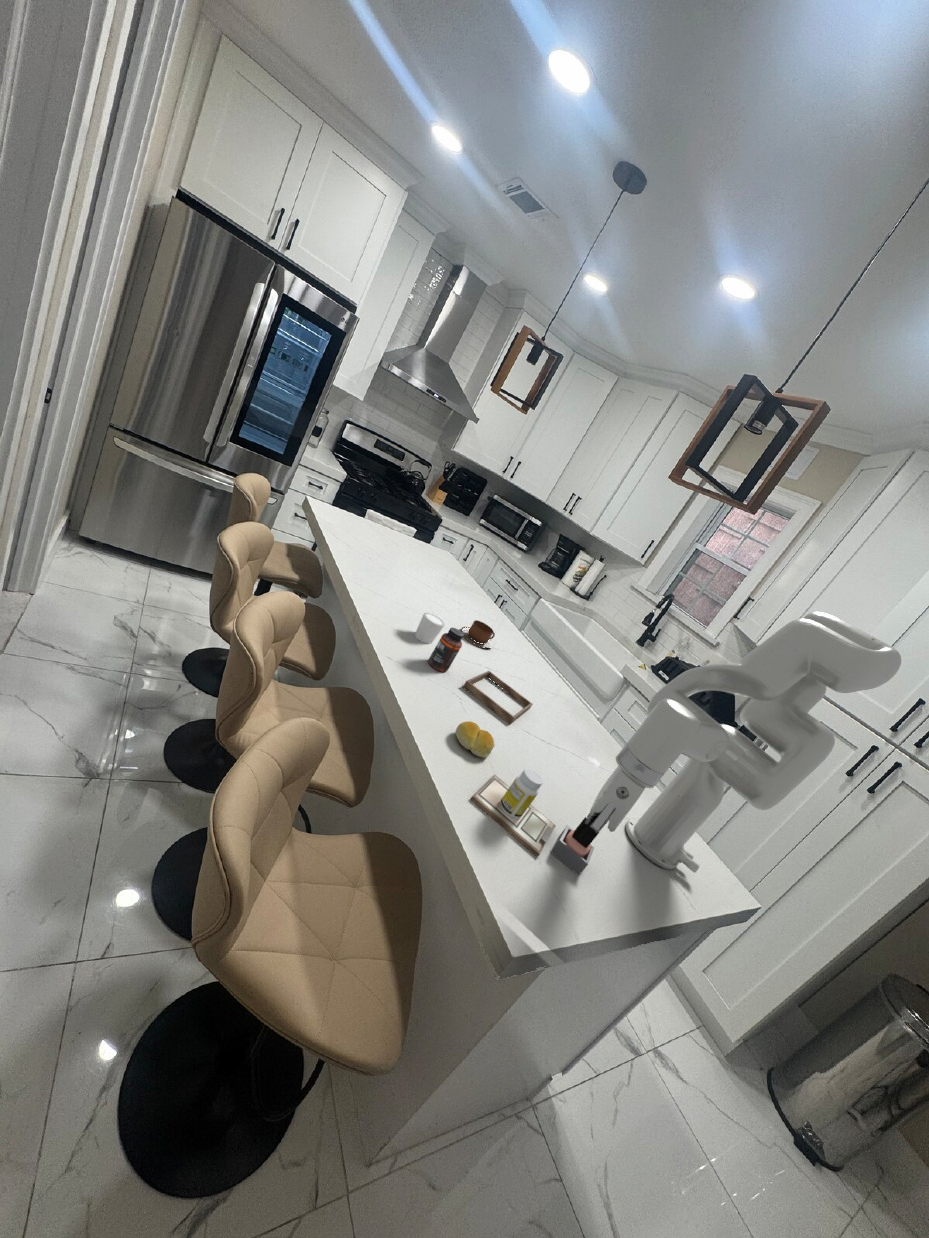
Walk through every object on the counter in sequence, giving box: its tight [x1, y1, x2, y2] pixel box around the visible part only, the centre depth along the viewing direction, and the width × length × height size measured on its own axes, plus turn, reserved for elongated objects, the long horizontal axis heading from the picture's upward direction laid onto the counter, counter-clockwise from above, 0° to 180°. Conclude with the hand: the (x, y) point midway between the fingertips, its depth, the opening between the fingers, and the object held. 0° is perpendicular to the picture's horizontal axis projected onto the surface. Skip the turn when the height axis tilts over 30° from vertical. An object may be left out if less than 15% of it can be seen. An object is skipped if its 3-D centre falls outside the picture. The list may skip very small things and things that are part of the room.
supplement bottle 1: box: [428, 627, 465, 673], centre depth 133 cm, size 6×6×11 cm
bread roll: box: [455, 720, 496, 759], centre depth 107 cm, size 8×9×4 cm
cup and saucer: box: [460, 619, 496, 648], centre depth 166 cm, size 12×12×6 cm
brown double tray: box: [470, 773, 557, 858], centre depth 94 cm, size 15×11×2 cm
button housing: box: [550, 825, 595, 877], centre depth 92 cm, size 6×6×3 cm
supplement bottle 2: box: [500, 767, 544, 819], centre depth 92 cm, size 5×5×8 cm
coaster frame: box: [462, 670, 534, 725], centre depth 136 cm, size 16×16×2 cm
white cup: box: [414, 612, 445, 645], centre depth 145 cm, size 7×7×7 cm
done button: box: [563, 829, 591, 858], centre depth 91 cm, size 4×4×3 cm
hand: (579, 840), depth 91 cm, fingers closed
